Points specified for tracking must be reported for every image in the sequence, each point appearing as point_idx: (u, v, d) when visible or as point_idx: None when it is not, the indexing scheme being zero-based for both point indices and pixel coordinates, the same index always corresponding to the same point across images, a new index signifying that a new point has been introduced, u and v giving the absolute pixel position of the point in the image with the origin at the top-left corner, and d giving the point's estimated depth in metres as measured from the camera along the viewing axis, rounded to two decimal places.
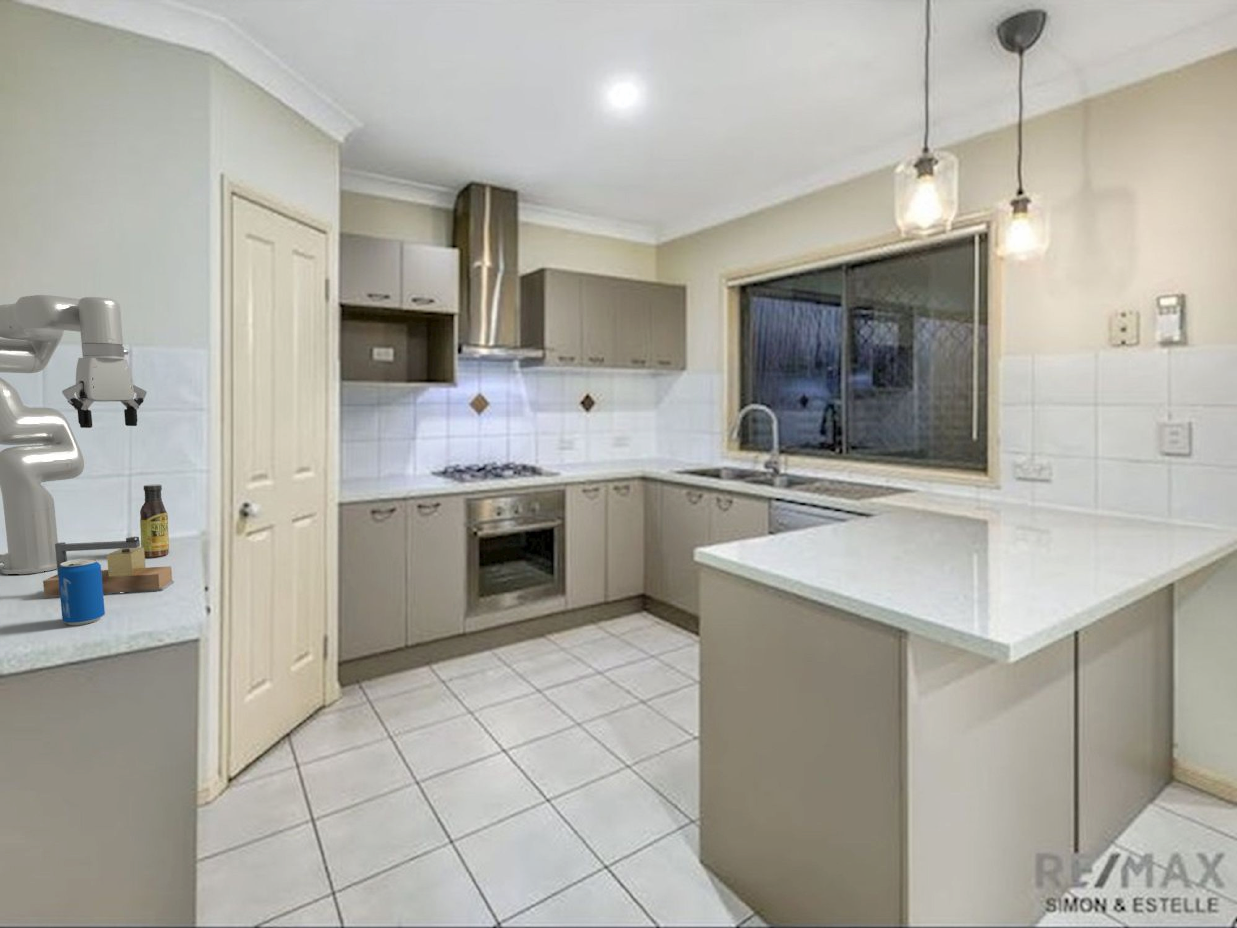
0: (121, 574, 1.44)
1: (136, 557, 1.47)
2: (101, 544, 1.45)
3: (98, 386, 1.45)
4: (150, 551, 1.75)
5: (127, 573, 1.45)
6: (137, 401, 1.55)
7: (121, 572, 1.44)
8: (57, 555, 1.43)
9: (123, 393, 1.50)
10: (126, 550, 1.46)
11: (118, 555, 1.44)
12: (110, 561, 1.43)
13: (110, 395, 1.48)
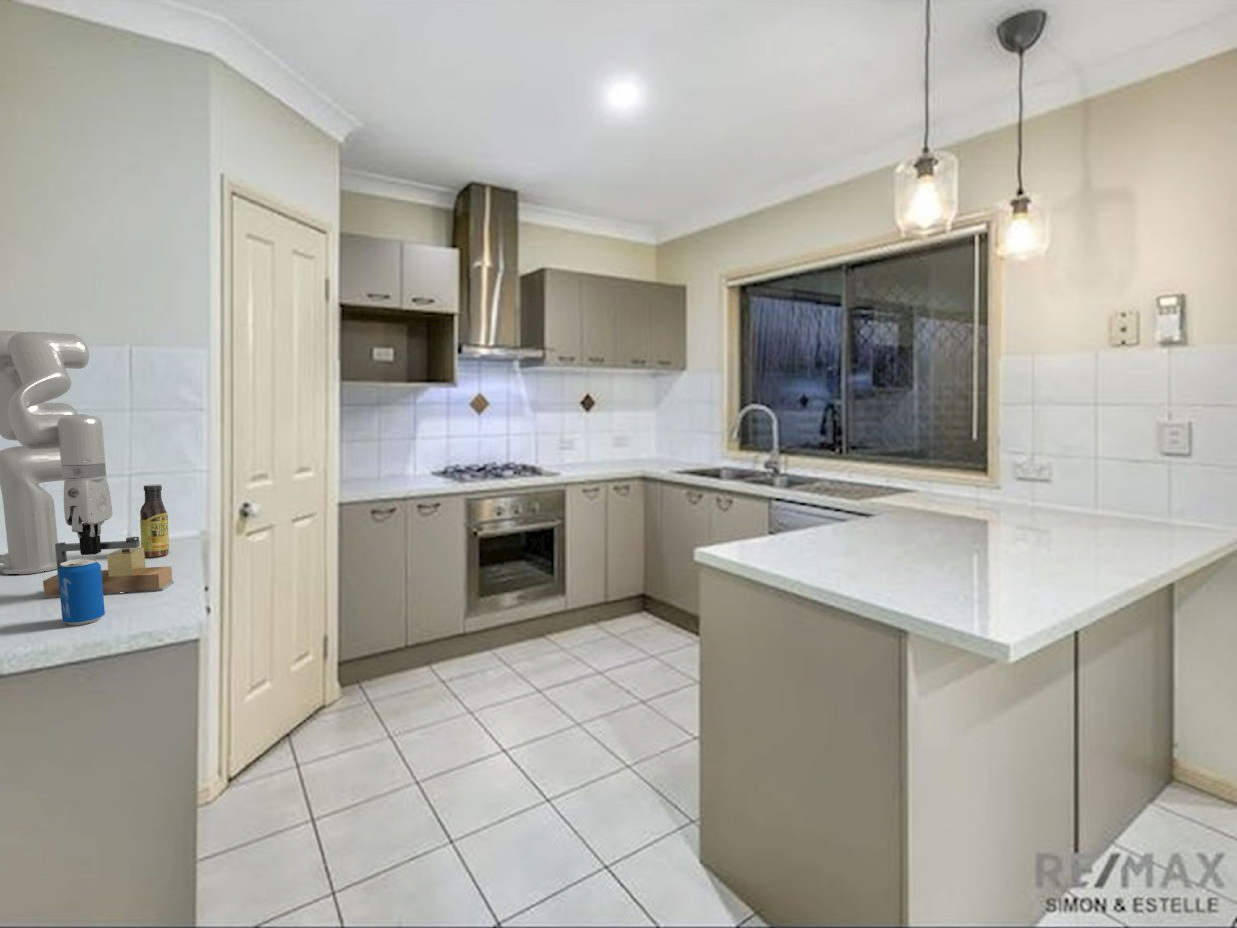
0: (121, 574, 1.44)
1: (136, 557, 1.47)
2: (101, 544, 1.45)
3: None
4: (150, 551, 1.75)
5: (127, 573, 1.45)
6: None
7: (121, 572, 1.44)
8: (57, 555, 1.43)
9: None
10: (126, 550, 1.46)
11: (118, 555, 1.44)
12: (110, 561, 1.43)
13: None
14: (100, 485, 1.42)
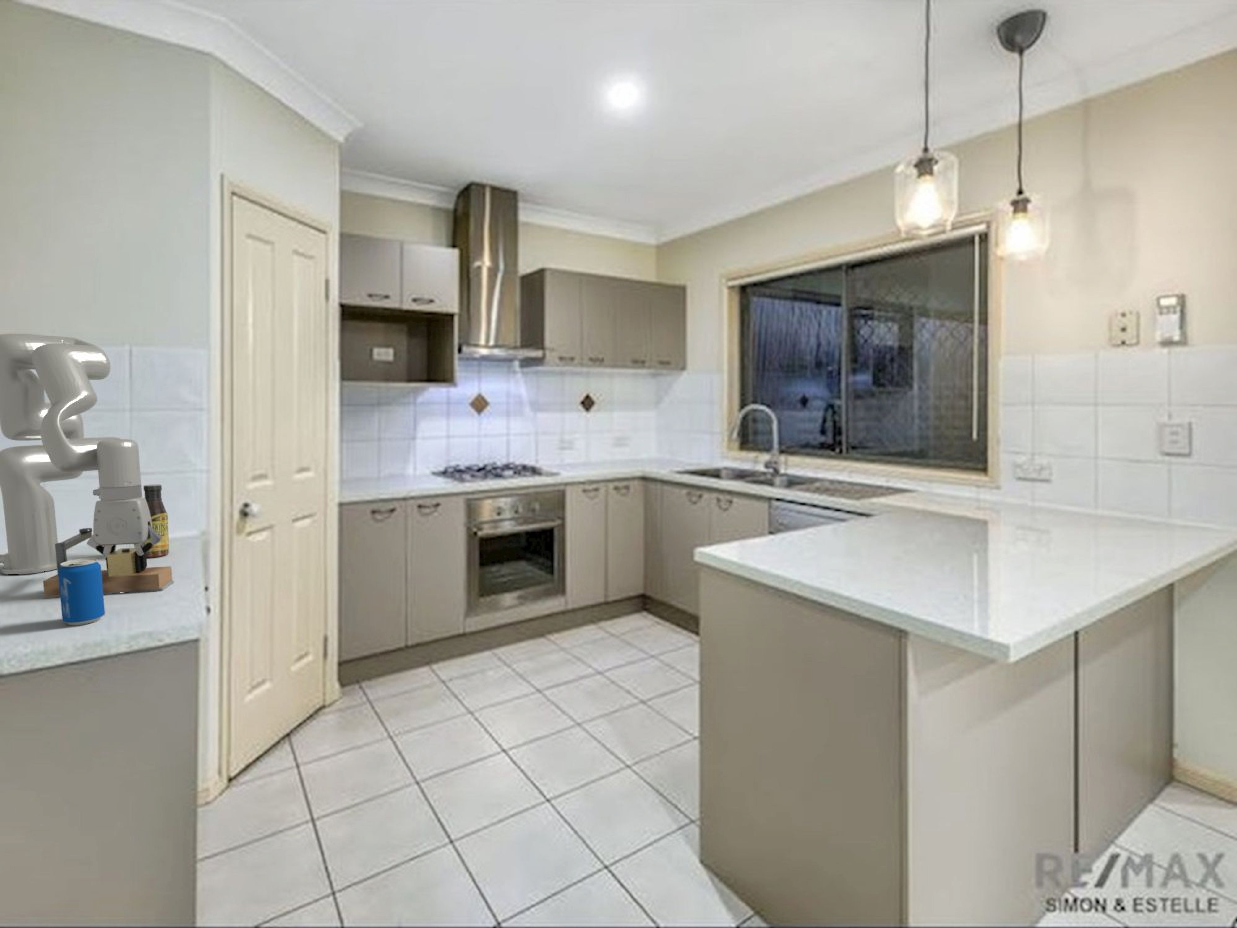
0: (121, 574, 1.44)
1: None
2: (80, 537, 1.51)
3: None
4: (150, 551, 1.75)
5: (127, 573, 1.45)
6: None
7: (121, 572, 1.44)
8: (65, 554, 1.44)
9: None
10: (126, 550, 1.46)
11: (118, 555, 1.44)
12: (110, 561, 1.43)
13: None
14: (116, 509, 1.43)
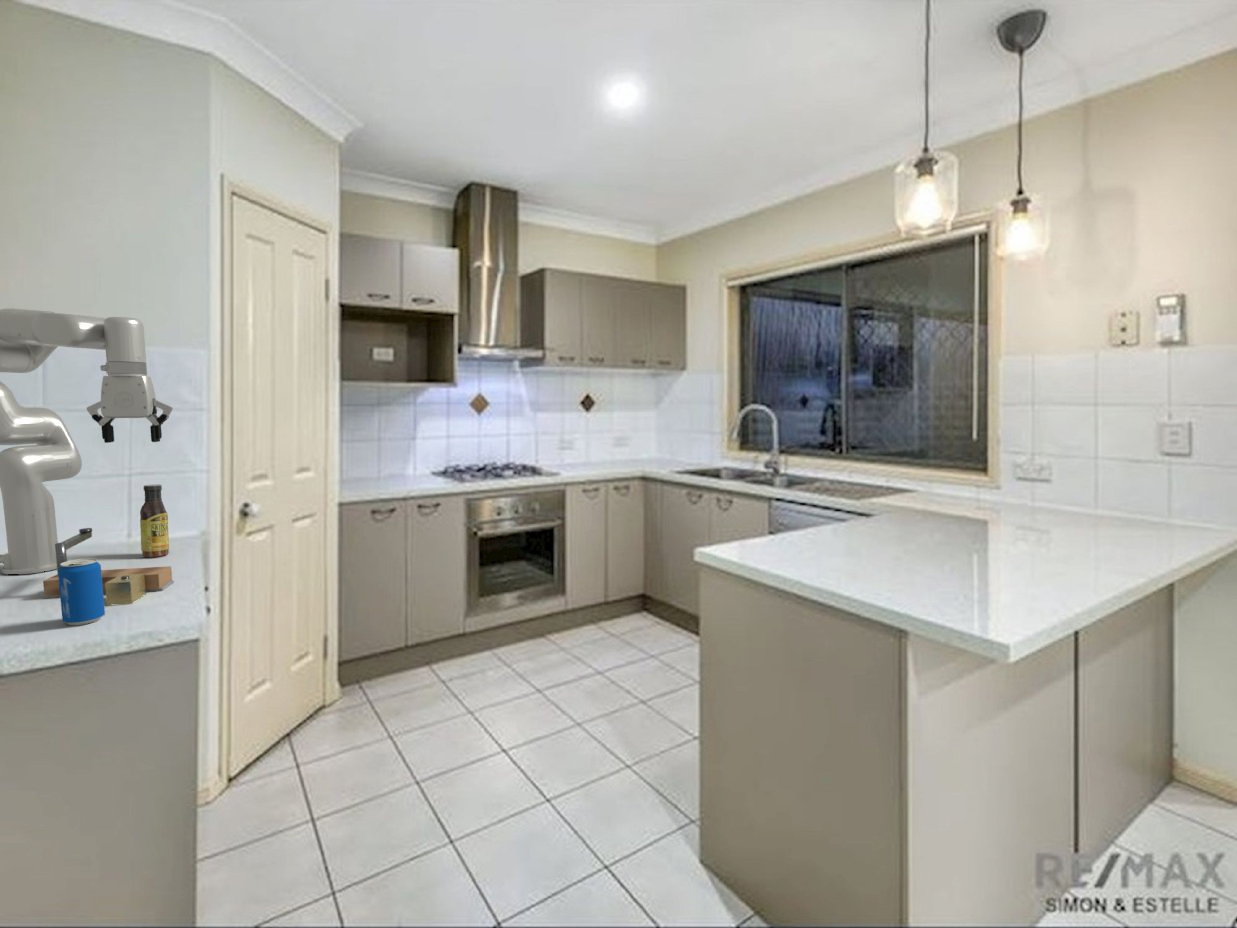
0: (120, 603, 1.37)
1: (136, 585, 1.40)
2: (80, 537, 1.51)
3: None
4: (150, 551, 1.75)
5: (126, 601, 1.37)
6: None
7: (119, 601, 1.37)
8: (65, 554, 1.44)
9: None
10: (125, 577, 1.39)
11: (117, 583, 1.36)
12: (108, 590, 1.36)
13: None
14: (122, 383, 1.50)
